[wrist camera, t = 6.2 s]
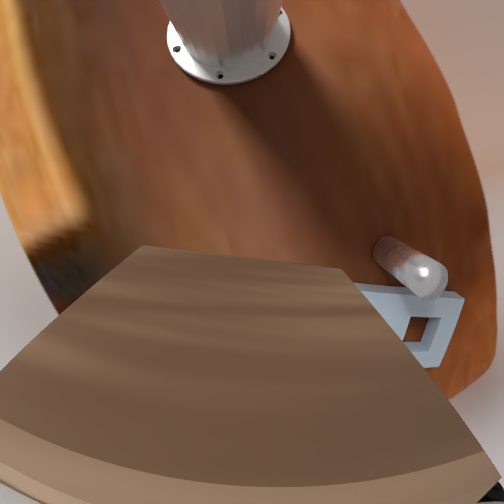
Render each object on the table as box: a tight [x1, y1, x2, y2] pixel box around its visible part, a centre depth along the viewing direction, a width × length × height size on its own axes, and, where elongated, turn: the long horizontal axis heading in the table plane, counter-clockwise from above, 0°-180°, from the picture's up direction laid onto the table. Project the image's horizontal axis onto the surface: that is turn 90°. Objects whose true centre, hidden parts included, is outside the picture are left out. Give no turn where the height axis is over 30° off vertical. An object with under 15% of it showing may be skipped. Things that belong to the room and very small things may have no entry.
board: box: [354, 283, 465, 368], centre depth 30 cm, size 10×26×8 cm, turn 83°
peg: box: [373, 236, 448, 301], centre depth 27 cm, size 3×3×10 cm
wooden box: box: [0, 245, 501, 504], centre depth 7 cm, size 7×7×9 cm
